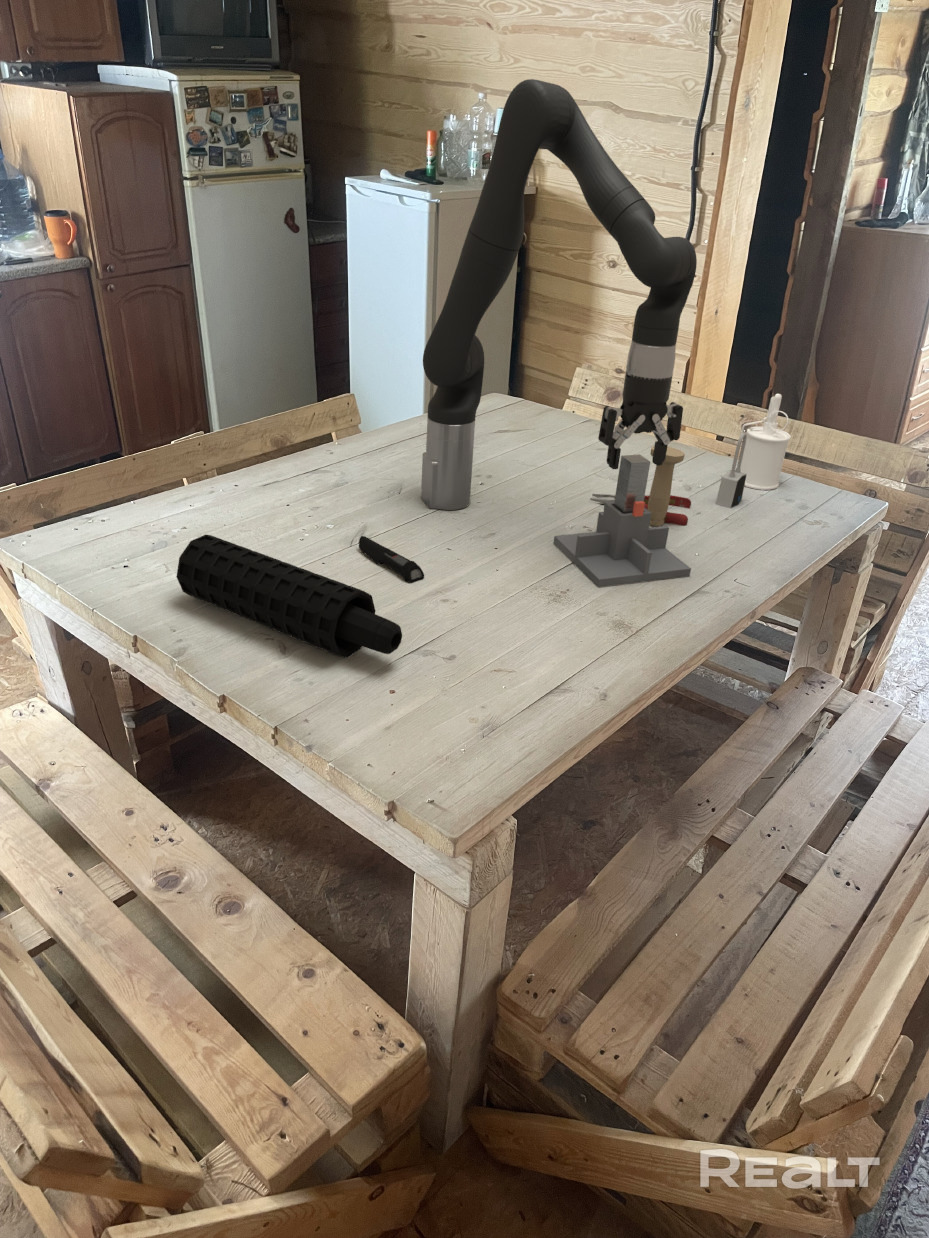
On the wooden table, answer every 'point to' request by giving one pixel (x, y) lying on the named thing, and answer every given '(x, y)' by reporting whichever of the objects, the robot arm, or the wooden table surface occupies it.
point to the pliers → (669, 518)
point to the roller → (285, 598)
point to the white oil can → (765, 450)
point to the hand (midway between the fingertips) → (635, 466)
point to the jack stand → (623, 549)
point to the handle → (662, 486)
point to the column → (631, 482)
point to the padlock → (733, 480)
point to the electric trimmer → (391, 560)
